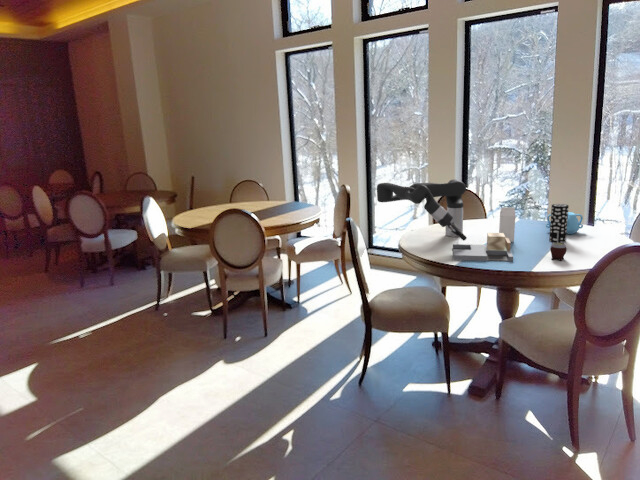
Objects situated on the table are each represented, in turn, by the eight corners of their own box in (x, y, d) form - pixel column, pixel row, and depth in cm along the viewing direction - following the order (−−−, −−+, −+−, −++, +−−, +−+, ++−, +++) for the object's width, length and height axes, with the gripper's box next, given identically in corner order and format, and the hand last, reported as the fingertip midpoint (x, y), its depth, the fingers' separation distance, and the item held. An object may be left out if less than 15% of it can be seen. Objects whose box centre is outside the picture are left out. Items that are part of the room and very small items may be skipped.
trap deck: (453, 260, 249) (453, 247, 248) (452, 248, 270) (453, 236, 268) (512, 261, 242) (513, 248, 241) (507, 249, 263) (508, 237, 262)
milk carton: (514, 241, 278) (515, 208, 273) (500, 241, 279) (502, 208, 275) (511, 238, 285) (513, 206, 280) (498, 238, 286) (500, 206, 282)
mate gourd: (560, 256, 247) (562, 227, 243) (569, 261, 239) (572, 230, 236) (546, 257, 246) (548, 228, 243) (555, 262, 239) (557, 231, 235)
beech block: (488, 249, 256) (488, 236, 254) (486, 245, 263) (487, 232, 262) (504, 250, 254) (505, 236, 252) (502, 246, 261) (503, 233, 260)
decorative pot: (562, 228, 305) (563, 206, 301) (585, 233, 290) (587, 210, 287) (542, 231, 298) (543, 209, 295) (565, 237, 284) (566, 213, 281)
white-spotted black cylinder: (546, 239, 280) (548, 204, 275) (560, 238, 281) (563, 203, 276) (554, 243, 272) (556, 207, 267) (568, 242, 273) (571, 206, 268)
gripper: (436, 218, 268) (459, 240, 268) (436, 223, 256) (460, 247, 256) (446, 208, 266) (470, 231, 266) (447, 213, 253) (471, 237, 254)
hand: (465, 239), depth 261 cm, fingers closed
